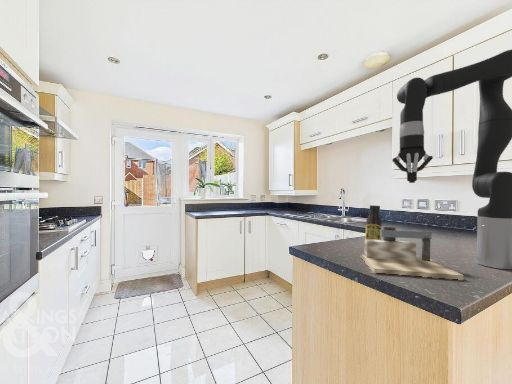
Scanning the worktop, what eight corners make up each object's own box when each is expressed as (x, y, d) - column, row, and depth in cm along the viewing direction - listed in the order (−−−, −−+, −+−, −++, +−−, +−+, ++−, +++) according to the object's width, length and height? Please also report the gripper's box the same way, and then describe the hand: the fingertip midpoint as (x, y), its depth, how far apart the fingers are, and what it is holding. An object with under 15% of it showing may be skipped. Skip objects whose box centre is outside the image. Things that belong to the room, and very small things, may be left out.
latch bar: (428, 237, 86) (428, 231, 86) (433, 239, 83) (433, 232, 83) (379, 235, 88) (379, 229, 88) (382, 237, 85) (382, 230, 85)
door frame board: (430, 262, 87) (431, 228, 87) (463, 280, 69) (464, 237, 69) (360, 257, 91) (361, 225, 91) (374, 273, 74) (374, 233, 74)
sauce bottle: (364, 251, 102) (364, 205, 102) (365, 248, 108) (365, 204, 108) (381, 253, 99) (382, 205, 99) (381, 250, 105) (382, 205, 105)
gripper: (430, 136, 88) (430, 182, 88) (390, 139, 94) (390, 183, 94) (436, 131, 81) (436, 181, 81) (392, 135, 87) (392, 182, 87)
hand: (411, 182), depth 88 cm, fingers closed
